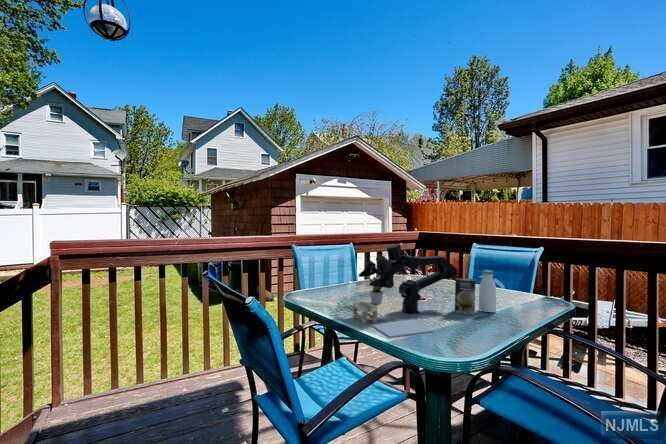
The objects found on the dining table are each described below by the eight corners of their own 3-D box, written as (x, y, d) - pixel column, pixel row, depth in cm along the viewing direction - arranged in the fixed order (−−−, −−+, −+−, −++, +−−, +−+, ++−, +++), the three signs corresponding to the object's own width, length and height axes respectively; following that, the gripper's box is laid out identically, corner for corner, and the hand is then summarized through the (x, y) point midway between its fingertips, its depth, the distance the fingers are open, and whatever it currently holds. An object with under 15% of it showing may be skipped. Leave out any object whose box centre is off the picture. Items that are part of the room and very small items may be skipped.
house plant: (365, 307, 172) (365, 275, 172) (358, 300, 186) (358, 271, 186) (392, 306, 175) (392, 274, 175) (382, 299, 189) (383, 270, 189)
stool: (365, 316, 157) (365, 300, 157) (377, 322, 147) (377, 306, 147) (352, 317, 155) (353, 302, 155) (363, 324, 145) (363, 308, 144)
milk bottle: (498, 314, 162) (498, 272, 162) (480, 313, 164) (481, 271, 163) (493, 309, 170) (494, 269, 169) (477, 308, 171) (477, 269, 171)
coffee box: (454, 313, 163) (454, 279, 163) (455, 309, 169) (455, 277, 169) (475, 315, 159) (475, 281, 159) (475, 311, 165) (475, 278, 165)
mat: (412, 321, 150) (412, 319, 150) (433, 331, 136) (433, 330, 136) (371, 326, 142) (371, 324, 142) (389, 337, 128) (389, 336, 128)
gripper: (379, 246, 166) (351, 256, 160) (403, 261, 150) (373, 273, 144) (381, 266, 170) (354, 277, 164) (404, 283, 154) (375, 295, 148)
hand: (363, 280), depth 155 cm, fingers open, 9 cm apart
